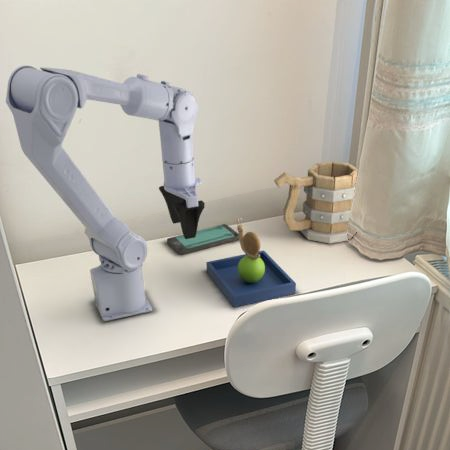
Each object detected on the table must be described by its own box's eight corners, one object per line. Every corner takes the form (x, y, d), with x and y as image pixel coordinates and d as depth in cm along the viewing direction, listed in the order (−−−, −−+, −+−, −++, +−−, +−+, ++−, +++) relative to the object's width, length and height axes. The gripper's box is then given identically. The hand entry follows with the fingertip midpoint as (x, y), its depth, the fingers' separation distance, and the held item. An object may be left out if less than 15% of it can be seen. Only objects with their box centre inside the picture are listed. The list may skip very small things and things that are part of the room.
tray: (295, 293, 124) (296, 283, 122) (233, 307, 120) (233, 296, 119) (263, 260, 135) (263, 250, 133) (206, 272, 132) (206, 261, 130)
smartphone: (165, 237, 142) (225, 222, 147) (166, 243, 143) (225, 227, 148) (179, 250, 137) (240, 234, 142) (179, 256, 138) (240, 239, 143)
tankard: (341, 216, 151) (347, 151, 142) (366, 237, 142) (374, 170, 132) (262, 229, 147) (263, 163, 137) (283, 252, 137) (285, 184, 128)
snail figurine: (249, 270, 131) (248, 214, 123) (270, 281, 127) (271, 224, 119) (229, 279, 128) (227, 222, 120) (250, 290, 124) (249, 232, 116)
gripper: (212, 168, 110) (216, 240, 119) (186, 143, 121) (191, 212, 130) (173, 174, 109) (180, 248, 117) (150, 149, 119) (158, 218, 128)
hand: (183, 229), depth 123 cm, fingers open, 7 cm apart
